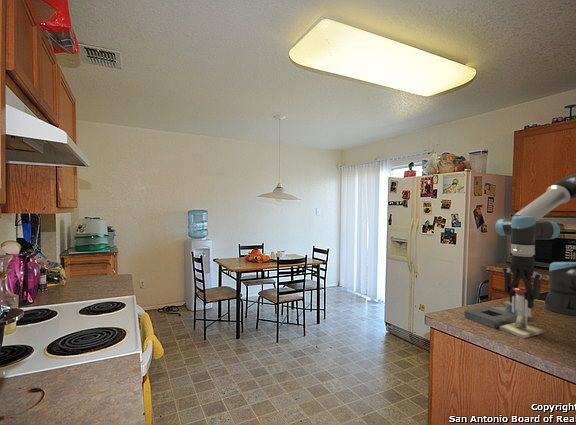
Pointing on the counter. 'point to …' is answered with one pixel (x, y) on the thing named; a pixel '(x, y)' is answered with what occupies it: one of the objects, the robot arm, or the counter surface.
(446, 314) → the counter surface
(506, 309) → the shower valve
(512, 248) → the robot arm
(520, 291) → the red mushroom button
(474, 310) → the eye plate
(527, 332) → the birch pad
